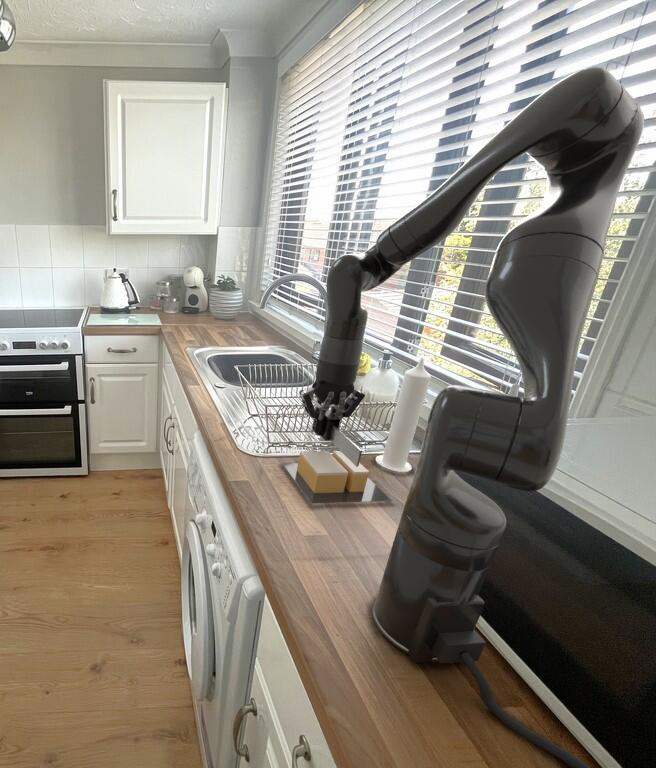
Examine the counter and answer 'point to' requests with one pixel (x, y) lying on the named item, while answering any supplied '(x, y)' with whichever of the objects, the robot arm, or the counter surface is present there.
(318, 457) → the tan rectangular block
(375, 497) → the board
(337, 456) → the slice
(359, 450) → the knife
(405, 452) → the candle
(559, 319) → the robot arm
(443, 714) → the counter surface
